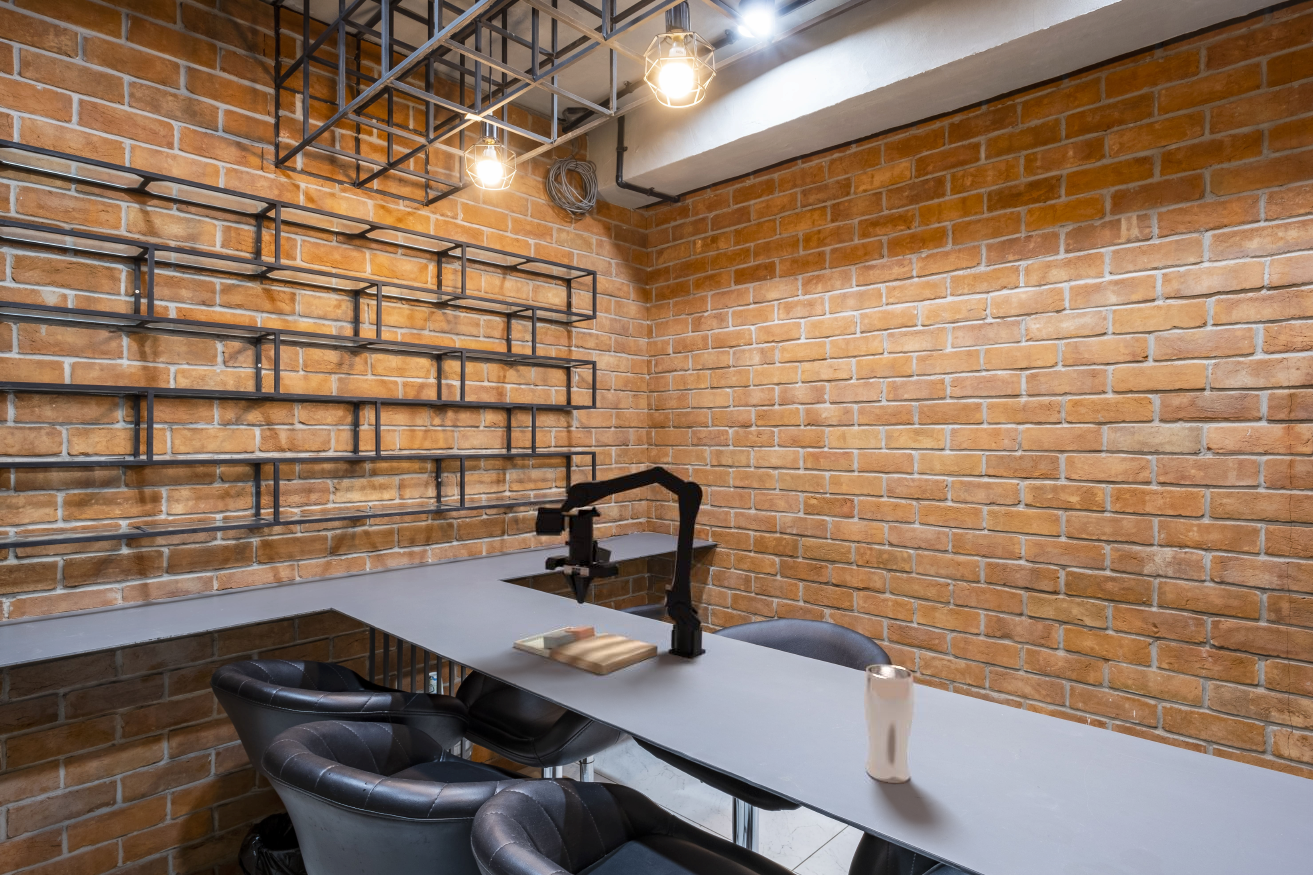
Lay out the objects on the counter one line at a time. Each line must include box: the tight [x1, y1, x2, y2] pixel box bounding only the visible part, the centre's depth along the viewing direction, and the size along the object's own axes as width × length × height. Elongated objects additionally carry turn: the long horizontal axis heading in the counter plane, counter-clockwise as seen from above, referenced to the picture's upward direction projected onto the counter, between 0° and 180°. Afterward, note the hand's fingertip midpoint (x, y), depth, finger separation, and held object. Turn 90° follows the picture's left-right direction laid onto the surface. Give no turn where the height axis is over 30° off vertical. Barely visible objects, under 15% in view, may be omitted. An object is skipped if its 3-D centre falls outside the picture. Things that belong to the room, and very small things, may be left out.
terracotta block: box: [564, 626, 595, 642], centre depth 160 cm, size 5×5×2 cm
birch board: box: [550, 632, 658, 676], centre depth 150 cm, size 16×18×2 cm
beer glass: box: [863, 664, 915, 784], centre depth 99 cm, size 7×7×15 cm
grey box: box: [543, 632, 574, 648], centre depth 155 cm, size 5×5×2 cm
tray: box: [513, 626, 601, 659], centre depth 159 cm, size 12×18×1 cm, turn 142°
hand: (580, 603), depth 155 cm, fingers closed
